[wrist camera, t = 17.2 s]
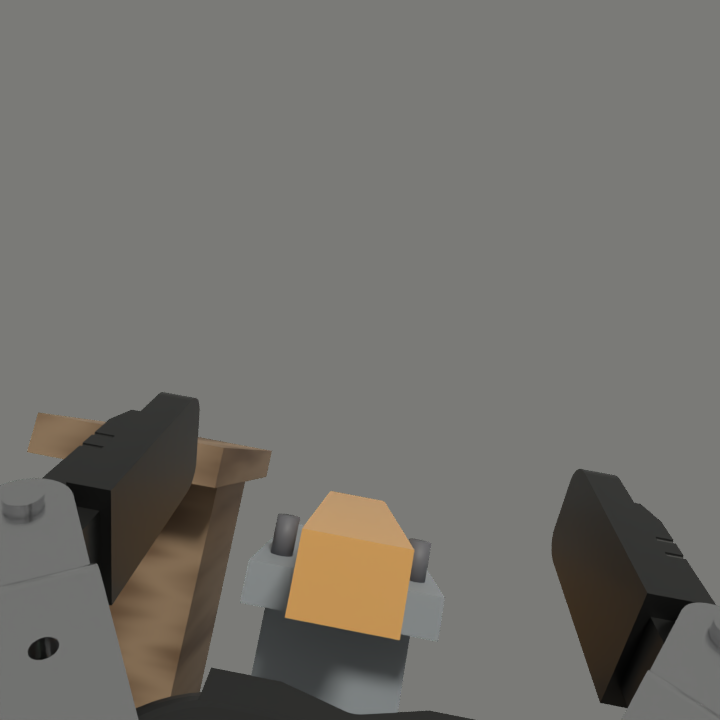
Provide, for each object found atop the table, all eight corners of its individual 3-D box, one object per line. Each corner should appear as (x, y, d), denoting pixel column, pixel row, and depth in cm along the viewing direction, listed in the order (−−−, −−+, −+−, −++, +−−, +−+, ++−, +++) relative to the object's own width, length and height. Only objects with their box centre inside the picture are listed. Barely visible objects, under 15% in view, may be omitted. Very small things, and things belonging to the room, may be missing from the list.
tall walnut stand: (173, 916, 39) (271, 451, 44) (48, 1230, 23) (223, 447, 28) (38, 887, 39) (151, 428, 44) (-178, 1178, 23) (38, 412, 29)
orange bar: (377, 543, 41) (384, 501, 41) (399, 640, 19) (414, 550, 20) (322, 532, 41) (330, 491, 42) (284, 617, 19) (302, 528, 20)
